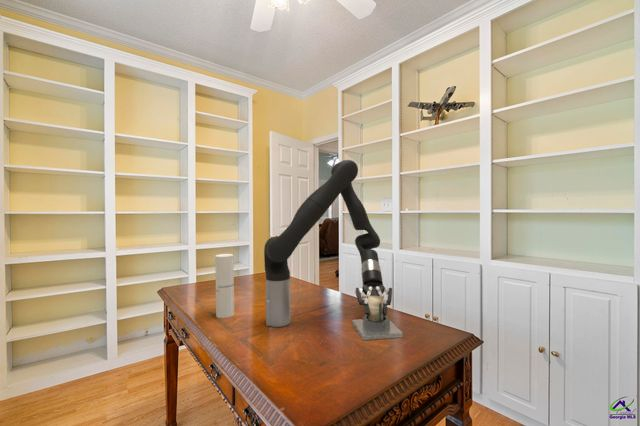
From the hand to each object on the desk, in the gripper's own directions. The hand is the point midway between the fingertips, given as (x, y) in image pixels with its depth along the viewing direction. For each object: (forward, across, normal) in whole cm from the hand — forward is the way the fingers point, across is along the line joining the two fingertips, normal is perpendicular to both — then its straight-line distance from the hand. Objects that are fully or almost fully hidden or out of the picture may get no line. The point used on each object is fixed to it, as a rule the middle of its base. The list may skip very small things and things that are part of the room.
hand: (376, 315), depth 102 cm
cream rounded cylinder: (+1, 0, +5) cm, 5 cm away
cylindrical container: (-8, -60, +17) cm, 63 cm away
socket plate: (+2, 0, +7) cm, 7 cm away
